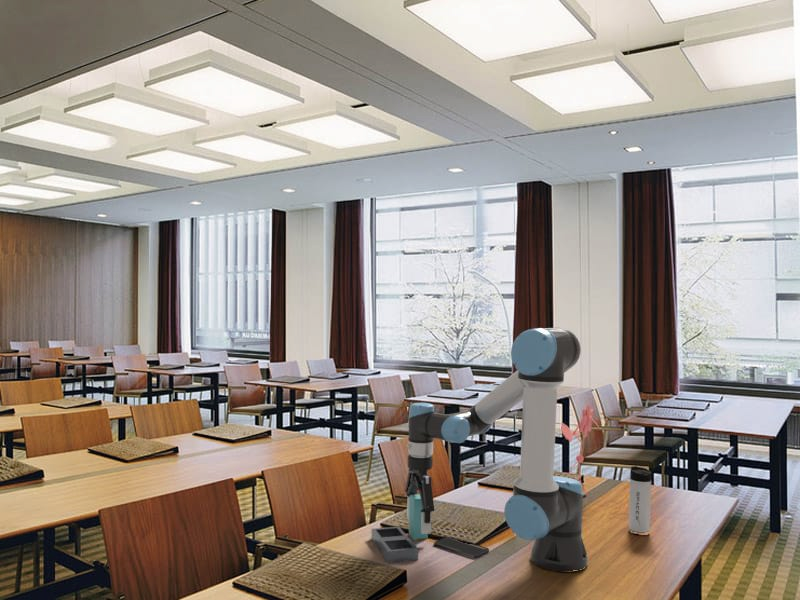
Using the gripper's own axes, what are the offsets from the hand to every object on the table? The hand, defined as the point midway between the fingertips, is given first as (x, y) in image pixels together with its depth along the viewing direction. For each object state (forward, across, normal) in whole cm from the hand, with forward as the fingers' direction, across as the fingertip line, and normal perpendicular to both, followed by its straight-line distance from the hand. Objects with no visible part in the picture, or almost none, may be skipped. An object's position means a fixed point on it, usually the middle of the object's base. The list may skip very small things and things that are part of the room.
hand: (418, 525), depth 200 cm
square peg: (+3, 0, 0) cm, 3 cm away
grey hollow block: (+3, +8, -10) cm, 13 cm away
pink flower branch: (+4, -21, +71) cm, 74 cm away
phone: (+4, +12, +9) cm, 15 cm away
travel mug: (+3, +12, +69) cm, 70 cm away
